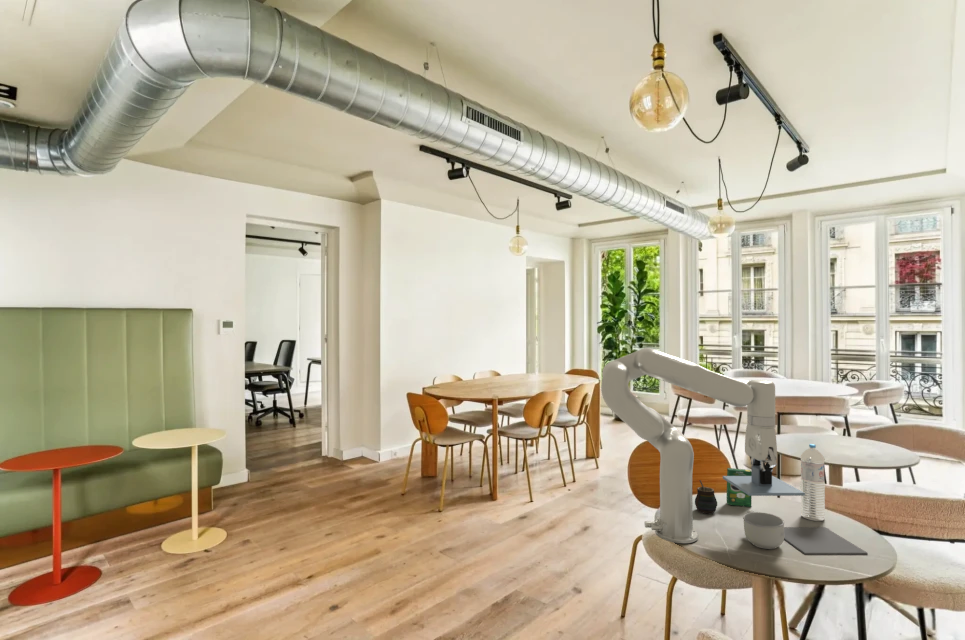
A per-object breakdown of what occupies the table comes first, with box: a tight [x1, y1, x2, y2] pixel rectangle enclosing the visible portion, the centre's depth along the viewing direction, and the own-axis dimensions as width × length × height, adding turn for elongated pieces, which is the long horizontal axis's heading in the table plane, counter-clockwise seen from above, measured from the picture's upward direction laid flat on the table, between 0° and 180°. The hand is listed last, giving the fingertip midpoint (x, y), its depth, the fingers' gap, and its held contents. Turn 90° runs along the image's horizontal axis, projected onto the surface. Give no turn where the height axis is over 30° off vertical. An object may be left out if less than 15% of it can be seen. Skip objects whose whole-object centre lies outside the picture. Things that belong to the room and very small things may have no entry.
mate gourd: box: [694, 479, 718, 515], centre depth 177 cm, size 7×8×10 cm
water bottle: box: [800, 443, 826, 522], centre depth 171 cm, size 7×7×25 cm
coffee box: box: [726, 467, 752, 508], centre depth 183 cm, size 8×3×13 cm, turn 75°
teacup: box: [742, 509, 785, 550], centre depth 152 cm, size 14×11×8 cm
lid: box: [722, 465, 805, 497], centre depth 152 cm, size 16×16×6 cm
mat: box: [784, 526, 868, 556], centre depth 153 cm, size 18×18×1 cm
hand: (761, 480), depth 152 cm, fingers closed on lid, 4 cm apart
